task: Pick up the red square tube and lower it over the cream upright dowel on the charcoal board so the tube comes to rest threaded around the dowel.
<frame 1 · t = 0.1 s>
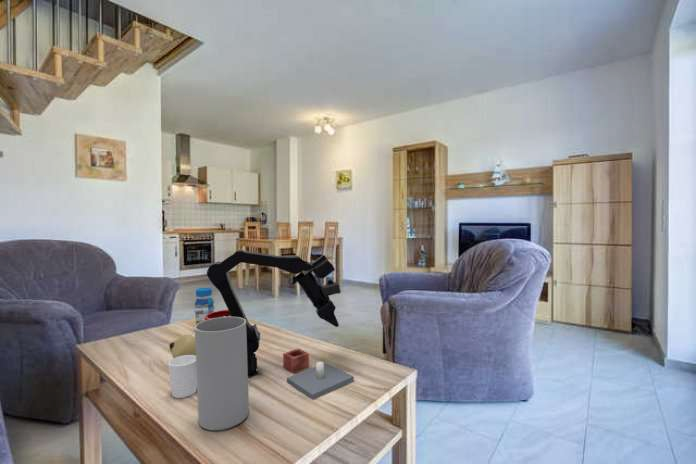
hand: (335, 322, 121), 15 cm above the table, tool tilted 30°, fingers open, 9 cm apart
white cup: (184, 393, 103), on the table
flat gray board: (320, 381, 108), on the table
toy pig: (186, 363, 124), on the table
beverage bottle: (205, 331, 158), on the table
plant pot: (222, 341, 146), on the table
cylinder vase: (224, 417, 90), on the table
red square tube: (296, 367, 118), on the table
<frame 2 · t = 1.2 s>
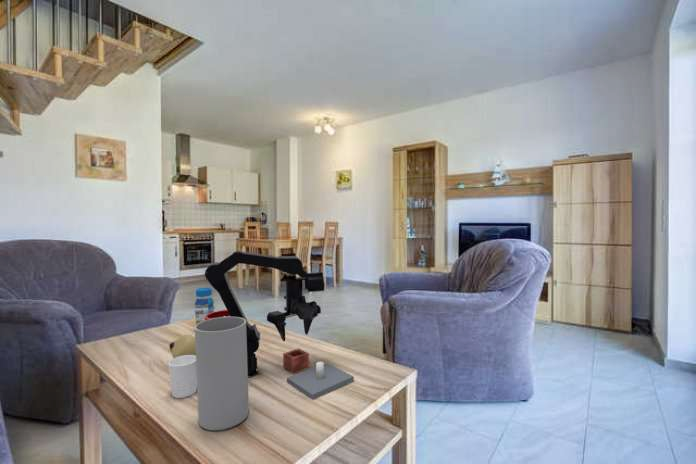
hand: (295, 337, 118), 11 cm above the table, tool pointing down, fingers open, 9 cm apart
nothing on the table moved.
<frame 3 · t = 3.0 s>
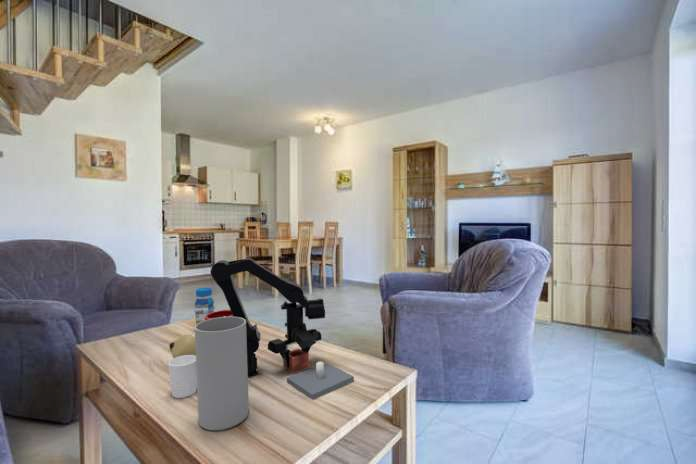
hand: (296, 364, 118), 1 cm above the table, tool pointing down, fingers closed on red square tube, 6 cm apart
red square tube: (296, 367, 118), on the table, touching gripper
everything else where it was.
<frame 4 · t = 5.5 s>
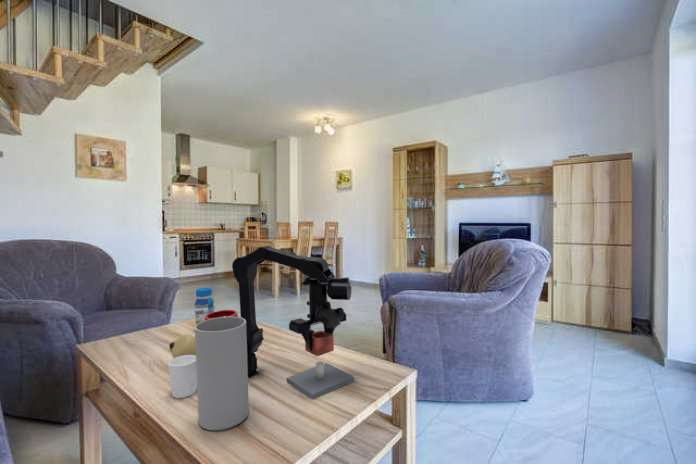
hand: (319, 347, 108), 11 cm above the table, tool pointing down, fingers closed on red square tube, 6 cm apart
red square tube: (319, 350, 108), point 10 cm above the table, touching gripper
everything else where it was.
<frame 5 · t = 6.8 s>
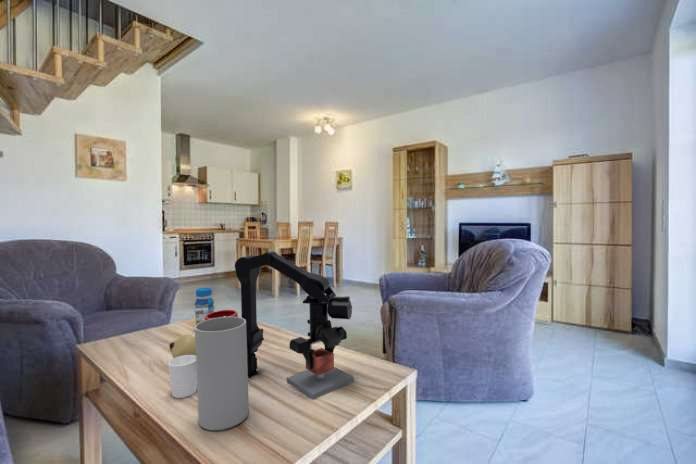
hand: (319, 365, 108), 5 cm above the table, tool pointing down, fingers closed on red square tube, 6 cm apart
red square tube: (319, 368, 108), point 4 cm above the table, touching gripper
everything else where it was.
when the fingers open (5 cm above the table, at t = 8.0 s): red square tube drops 2 cm, resting on flat gray board.
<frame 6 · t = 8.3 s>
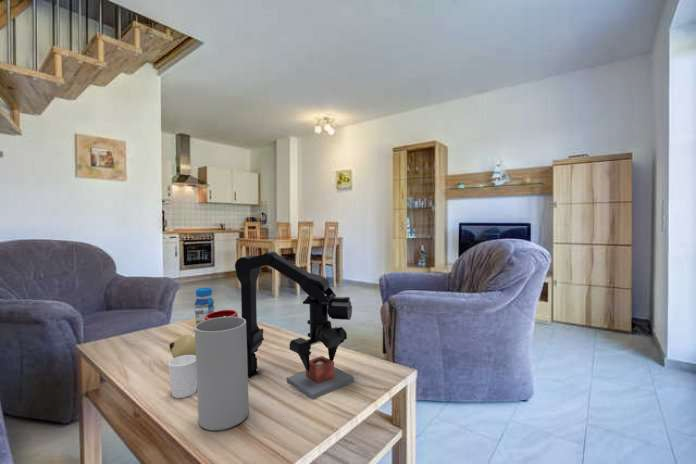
hand: (319, 366, 108), 5 cm above the table, tool pointing down, fingers open, 9 cm apart
red square tube: (320, 377, 108), point 1 cm above the table, touching flat gray board
everything else where it was.
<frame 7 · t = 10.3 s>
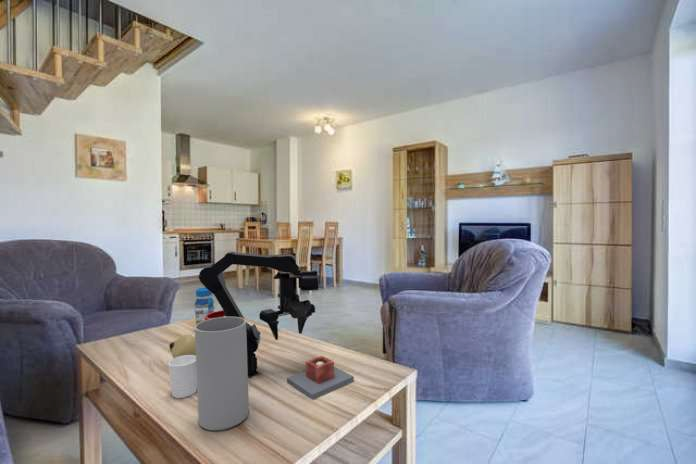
hand: (288, 336, 116), 12 cm above the table, tool pointing down, fingers open, 9 cm apart
nothing on the table moved.
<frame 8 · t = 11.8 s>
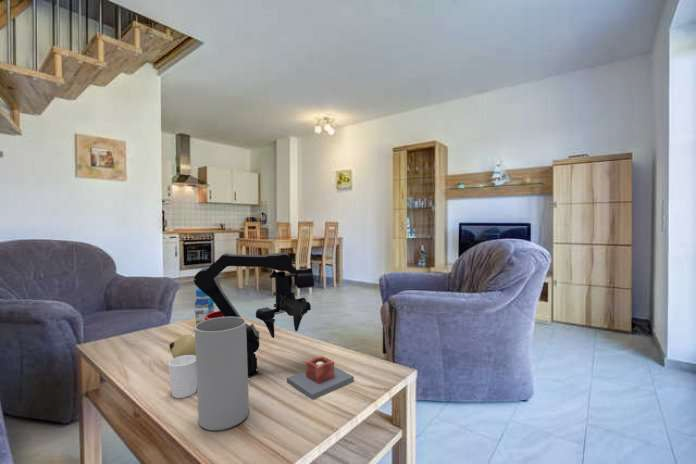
hand: (284, 334, 117), 12 cm above the table, tool pointing down, fingers open, 9 cm apart
nothing on the table moved.
at the end: red square tube 0.0 cm off-centre on the flat gray board, point 1.5 cm above the flat gray board's base; red square tube tilted 0°; the gripper is holding nothing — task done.
